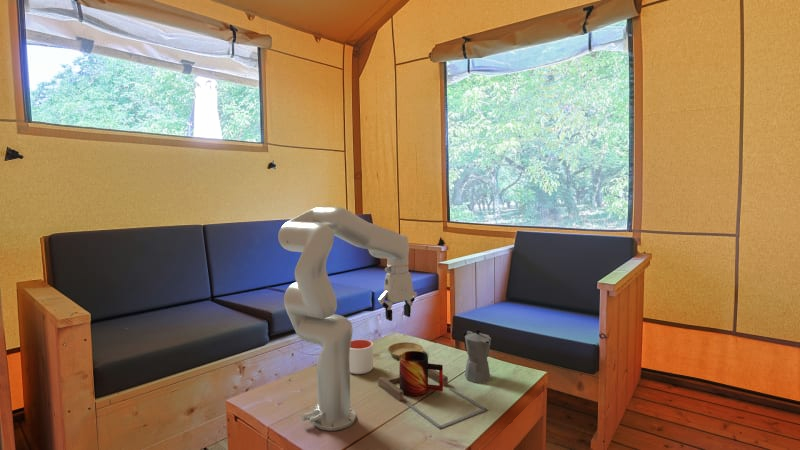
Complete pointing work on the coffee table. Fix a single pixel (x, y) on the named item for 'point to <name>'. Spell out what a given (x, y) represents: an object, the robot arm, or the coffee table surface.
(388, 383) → the frame
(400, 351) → the plant saucer
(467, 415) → the frame
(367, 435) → the coffee table surface
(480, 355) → the coffeepot
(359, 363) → the cup
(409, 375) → the mug
